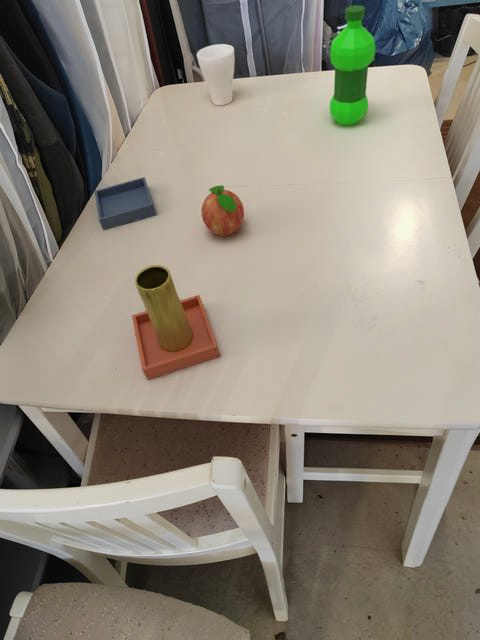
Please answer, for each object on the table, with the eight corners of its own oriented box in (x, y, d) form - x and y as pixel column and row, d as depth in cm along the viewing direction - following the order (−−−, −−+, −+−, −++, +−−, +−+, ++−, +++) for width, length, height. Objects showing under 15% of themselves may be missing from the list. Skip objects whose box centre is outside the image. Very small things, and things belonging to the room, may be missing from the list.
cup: (219, 112, 128) (211, 62, 117) (198, 103, 134) (189, 54, 123) (247, 98, 131) (241, 48, 121) (225, 90, 137) (218, 41, 127)
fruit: (211, 248, 89) (201, 207, 82) (201, 221, 96) (191, 181, 88) (251, 237, 90) (246, 195, 83) (239, 211, 96) (233, 170, 89)
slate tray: (103, 230, 98) (98, 220, 96) (98, 200, 106) (94, 190, 104) (156, 214, 99) (153, 204, 97) (147, 187, 107) (144, 176, 105)
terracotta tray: (147, 380, 71) (142, 370, 69) (136, 325, 79) (131, 315, 76) (220, 356, 72) (217, 346, 70) (202, 305, 80) (199, 294, 78)
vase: (186, 354, 72) (164, 294, 61) (152, 349, 74) (125, 290, 63) (197, 325, 76) (178, 264, 65) (164, 321, 77) (140, 261, 66)
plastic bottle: (328, 131, 113) (331, 19, 94) (328, 112, 120) (331, 3, 101) (368, 129, 112) (380, 14, 93) (366, 110, 118) (377, -2, 99)
